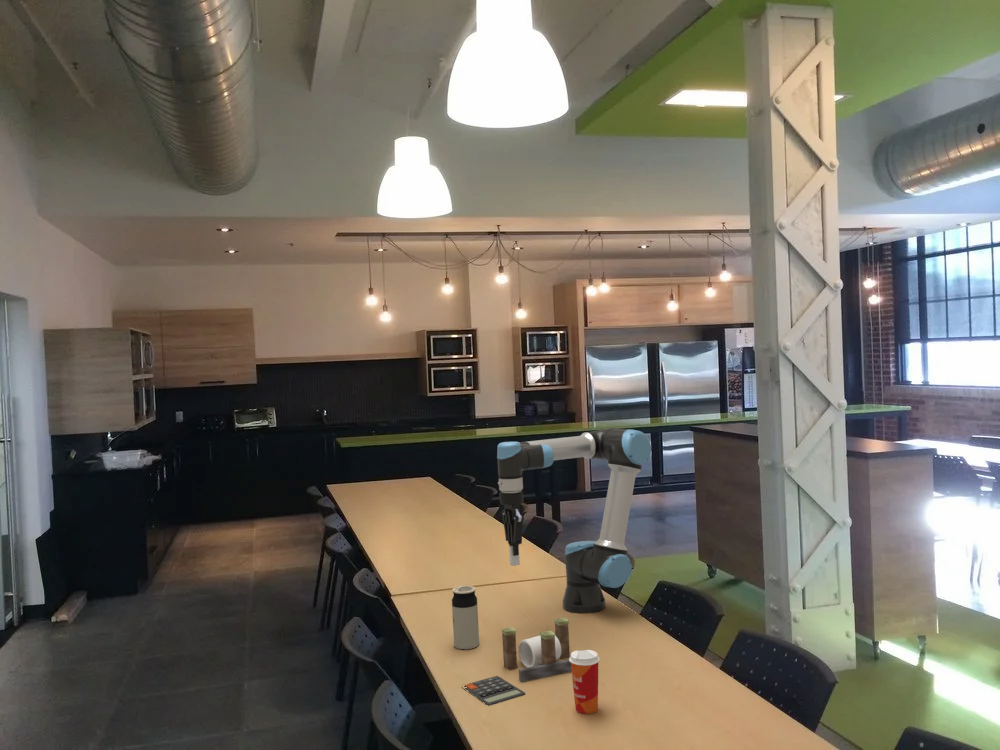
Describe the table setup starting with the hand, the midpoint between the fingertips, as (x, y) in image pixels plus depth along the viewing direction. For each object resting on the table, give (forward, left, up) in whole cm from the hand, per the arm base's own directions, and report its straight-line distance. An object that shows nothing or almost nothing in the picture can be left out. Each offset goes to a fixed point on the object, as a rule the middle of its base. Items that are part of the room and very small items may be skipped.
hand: (514, 564), depth 253 cm
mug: (+2, +19, -25) cm, 31 cm away
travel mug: (+16, -4, -24) cm, 30 cm away
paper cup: (+4, +54, -24) cm, 59 cm away
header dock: (+2, +24, -24) cm, 34 cm away
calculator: (+21, +32, -25) cm, 46 cm away
